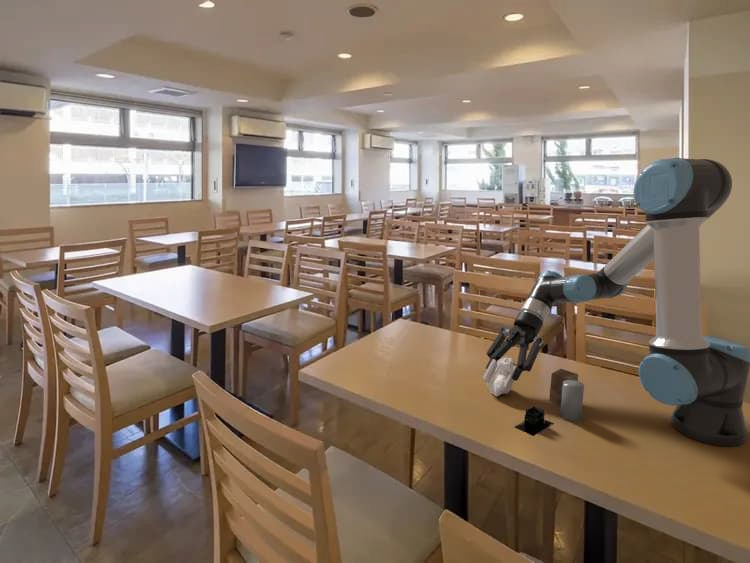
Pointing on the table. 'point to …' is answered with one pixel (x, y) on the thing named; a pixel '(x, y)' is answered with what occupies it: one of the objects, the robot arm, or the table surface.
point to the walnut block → (560, 384)
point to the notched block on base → (534, 422)
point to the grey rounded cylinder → (572, 400)
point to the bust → (500, 376)
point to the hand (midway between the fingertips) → (495, 384)
